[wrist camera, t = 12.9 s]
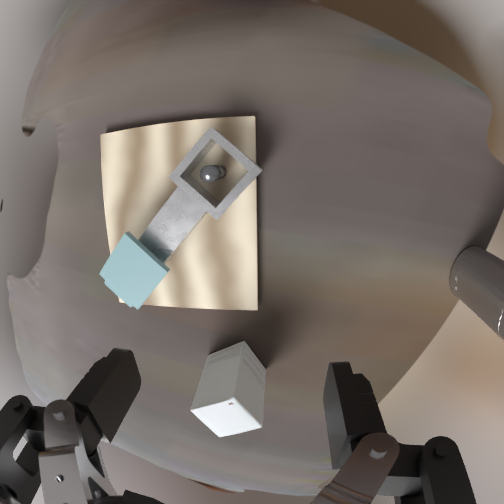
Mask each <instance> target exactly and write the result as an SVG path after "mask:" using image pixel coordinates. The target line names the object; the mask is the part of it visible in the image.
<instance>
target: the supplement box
mask: <svg viewBox="0 0 504 504" xmlns="http://www.w3.org/2000/svg"><path fill="white" fill-rule="evenodd" d="M265 377H266V369H265V368H264V366H263V365H262V364H261V362H260V361H259V360H258V358H257V357H256V356H255V354H254V353H253V352H252V350H251V349H250V348H249V346H248V345H247V343H246V342H245V341H242V342H240V343H237V344H235V345H232V346H230V347H227V348H225V349H222V350H220V351H217V352H215V353H212V354H210V355H208V357H207V360H206V363H205V366H204V369H203V372H202V375H201V378H200V381H199V385H198V388H197V391H196V394H195V397H194V400H193V403H192V406H191V409H190V410H191V411H192V412H193V413H194V414H195V415H196V416H197V417H198V418H199V419H200V420H201V421H202V422H203V423H204V424H205V425H207V426H208V427H209V428H210V429H211V430H212V431H213V432H214V433H215V434H217V435H218V436H219V437H223V436H228V435H233V434H237V433H241V432H245V431H249V430H253V429H257V428H261V427H262V425H263V411H264V393H265Z"/></svg>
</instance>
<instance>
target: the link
mask: <svg viewBox="0 0 504 504" xmlns="http://www.w3.org/2000/svg"><path fill="white" fill-rule="evenodd" d="M216 143H217V144H218V145H220V146H221V147H222V148H223V149H224V150H225V151H227V152H228V153H229V154H230V155H231V156H232V157H234V158H235V159H236V160H237V161H238V162H239V163H241V164H242V165H243V166H244V167H245V168H246V169H247V170H248V171H249V172H248V173H247V174H246V175H245V176H244V177H243V178H242V179H241V180H240V181H239V183H238V184H237V185H236V186H235V187H234V188H233V189H232V190H231V192H230V193H229V194H228V195H227V196H226V197H225V198H224V199H223V201H222V202H220V201H219V200H218V199H217V198H216V197H214V196H213V195H212V194H211V193H210V192H209V191H208V190H207V189H205V188H204V187H203V186H202V185H201V184H200V183H199V182H197V181H196V180H195V179H194V178H193V177H192V176H191V175H190V174H191V173H192V172H193V170H194V169H195V168H196V167H197V166H198V164H199V163H200V162H201V161H202V160H203V158H204V157H205V156H206V155H207V154H208V153H209V151H210V150H211V149H212V148H213V147H214V146H215V144H216ZM262 171H263V169H262V168H261V167H260V166H259V165H258V164H256V163H255V162H254V161H253V160H252V159H251V158H250V157H248V156H247V155H246V154H245V153H244V152H243V151H242V150H240V149H239V148H238V147H237V146H236V145H235V144H233V143H232V142H231V141H230V140H229V139H227V138H226V137H225V136H224V135H223V134H221V133H220V132H219V131H218V130H216V129H214V128H213V127H210V128H209V129H208V130H207V131H206V132H205V133H204V135H203V136H202V137H201V138H200V139H199V140H198V142H197V143H196V144H195V145H194V146H193V148H192V149H191V150H190V151H189V152H188V154H187V155H186V156H185V157H184V158H183V160H182V161H181V162H180V163H179V165H178V166H177V167H176V168H175V170H174V171H173V172H172V174H171V175H170V176H169V177H168V178H169V179H170V180H172V181H173V182H174V183H175V184H176V185H177V186H178V187H177V189H176V190H175V191H174V192H173V194H172V195H171V196H170V198H169V199H168V200H167V201H166V203H165V204H164V205H163V207H162V208H161V209H160V211H159V212H158V213H157V215H156V216H155V217H154V219H153V220H152V222H151V223H150V224H149V226H148V227H147V228H146V230H145V231H144V233H143V234H142V236H141V237H140V238H139V241H140V242H141V243H142V244H143V245H144V246H145V247H146V248H147V249H148V250H149V251H150V252H152V253H153V254H154V255H155V256H156V257H157V258H158V259H159V260H160V261H162V262H163V263H164V264H166V263H167V262H168V260H169V259H170V258H171V257H172V255H173V254H174V253H175V252H176V251H177V249H178V248H179V247H180V246H181V244H182V243H183V242H184V241H185V239H186V238H187V237H188V236H189V235H190V233H191V232H192V231H193V230H194V229H195V227H196V226H197V225H198V224H199V223H200V221H201V220H202V219H203V218H204V217H205V216H206V214H207V213H209V214H210V215H211V216H212V217H213V218H215V219H216V220H218V219H219V218H220V217H221V216H222V215H223V214H224V213H225V212H226V210H227V209H228V208H229V207H230V206H231V205H232V204H233V203H234V201H235V200H236V199H237V198H238V197H239V196H240V195H241V194H242V193H243V191H244V190H245V189H246V188H247V187H248V186H249V185H250V184H251V183H252V182H253V181H254V179H255V178H256V177H257V176H258V175H259V174H260V173H261V172H262Z"/></svg>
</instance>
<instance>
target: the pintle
mask: <svg viewBox="0 0 504 504" xmlns="http://www.w3.org/2000/svg"><path fill="white" fill-rule="evenodd" d="M226 173H227V170H226V168H225V167H224V166H222V165H206V166H204V167H202V168H201V170H200V178H201V179H202V180H203V181H204V182H212V181H216V180H219V179H222V178H224V177H225V176H226Z"/></svg>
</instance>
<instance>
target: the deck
mask: <svg viewBox="0 0 504 504" xmlns="http://www.w3.org/2000/svg"><path fill="white" fill-rule="evenodd" d="M210 127H213V128H214V129H216V130H218V131H219V132H220V133H221V134H223V135H224V136H225V137H226V138H227V139H229V140H230V141H231V142H232V143H233V144H235V145H236V146H237V147H238V148H239V149H240V150H242V151H243V152H244V153H245V154H246V155H247V156H248V157H250V158H251V159H252V160H253V161H254V162H255V163H256V121H255V116H241V117H222V118H209V119H197V120H187V121H179V122H170V123H163V124H156V125H149V126H143V127H137V128H132V129H126V130H121V131H116V132H111V133H106V134H102V135H101V167H102V184H103V197H104V208H105V217H106V226H107V233H108V241H109V248H110V254H112V252H113V251H114V249H115V247H116V246H117V244H118V243H119V241H120V240H121V238H122V236H123V235H124V233H126V232H128V231H129V232H130V233H131V234H132V235H133V236H134V237H135V238H136V239H137V240H139V238H140V237H141V236H142V234H143V233H144V231H145V230H146V228H147V227H148V226H149V224H150V223H151V222H152V220H153V219H154V217H155V216H156V215H157V213H158V212H159V211H160V209H161V208H162V207H163V205H164V204H165V203H166V201H167V200H168V199H169V198H170V196H171V195H172V194H173V192H174V191H175V190H176V189H177V187H178V186H177V185H176V184H175V183H174V182H173V181H172V180H170V179H169V178H168V177H169V176H170V175H171V174H172V172H173V171H174V170H175V168H176V167H177V166H178V165H179V163H180V162H181V161H182V160H183V158H184V157H185V156H186V155H187V154H188V152H189V151H190V150H191V149H192V148H193V146H194V145H195V144H196V143H197V142H198V140H199V139H200V138H201V137H202V136H203V135H204V133H205V132H206V131H207V130H208V129H209V128H210ZM206 165H222V166H224V167H225V168H226V170H227V173H226V176H225V177H224V178H222V179H219V180H216V181H212V182H204V181H203V180H202V179H201V178H200V170H201V168H202V167H204V166H206ZM248 172H249V171H248V170H247V169H246V168H245V167H244V166H243V165H242V164H241V163H239V162H238V161H237V160H236V159H235V158H234V157H232V156H231V155H230V154H229V153H228V152H227V151H225V150H224V149H223V148H222V147H221V146H220V145H218V144H217V143H216V144H215V146H214V147H213V148H212V149H211V150H210V151H209V153H208V154H207V155H206V156H205V157H204V158H203V160H202V161H201V162H200V163H199V164H198V166H197V167H196V168H195V169H194V170H193V172H192V173H191V174H190V175H191V176H192V177H193V178H194V179H195V180H196V181H197V182H199V183H200V184H201V185H202V186H203V187H204V188H205V189H207V190H208V191H209V192H210V193H211V194H212V195H213V196H214V197H216V198H217V199H218V200H219V201H220V202H222V201H223V199H224V198H225V197H226V196H227V195H228V194H229V193H230V192H231V190H232V189H233V188H234V187H235V186H236V185H237V184H238V183H239V181H240V180H241V179H242V178H243V177H244V176H245V175H246V174H247V173H248ZM165 265H166V266H167V267H168V268H169V269H170V270H169V272H168V273H167V274H166V275H165V277H164V278H163V279H162V280H161V282H160V283H159V284H158V285H157V287H156V288H155V289H154V290H153V292H152V293H151V294H150V295H149V297H148V298H147V299H146V300H145V302H144V303H143V304H144V305H156V306H170V307H186V308H204V309H227V310H258V258H257V181H256V178H255V179H254V181H253V182H252V183H251V184H250V185H249V186H248V187H247V188H246V189H245V190H244V191H243V193H242V194H241V195H240V196H239V197H238V198H237V199H236V200H235V201H234V203H233V204H232V205H231V206H230V207H229V208H228V209H227V210H226V212H225V213H224V214H223V215H222V216H221V217H220V218H219V219H218V220H216V219H215V218H213V217H212V216H211V215H210V214H209V213H207V214H206V216H205V217H204V218H203V219H202V220H201V221H200V223H199V224H198V225H197V226H196V227H195V229H194V230H193V231H192V232H191V233H190V235H189V236H188V237H187V238H186V239H185V241H184V242H183V243H182V244H181V246H180V247H179V248H178V249H177V251H176V252H175V253H174V254H173V255H172V257H171V258H170V259H169V260H168V262H167V263H166V264H165ZM119 301H120V302H121V303H125V302H124V301H123V300H122V299H121V298H120V297H119Z"/></svg>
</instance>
